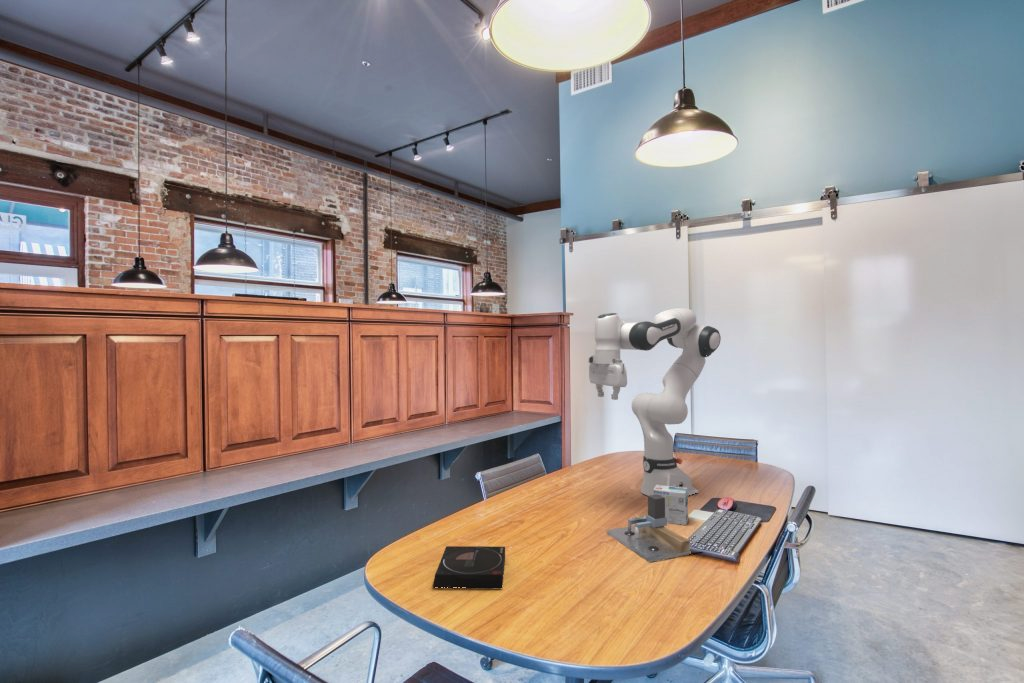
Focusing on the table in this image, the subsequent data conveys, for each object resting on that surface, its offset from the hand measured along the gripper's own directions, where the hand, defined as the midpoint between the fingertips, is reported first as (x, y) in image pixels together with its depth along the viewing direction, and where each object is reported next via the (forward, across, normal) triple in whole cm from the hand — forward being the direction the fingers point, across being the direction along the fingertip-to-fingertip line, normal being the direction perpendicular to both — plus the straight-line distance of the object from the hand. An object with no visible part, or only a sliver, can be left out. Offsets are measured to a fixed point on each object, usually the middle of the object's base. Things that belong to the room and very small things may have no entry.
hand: (607, 398), depth 174 cm
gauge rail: (+39, -27, +1) cm, 48 cm away
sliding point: (+39, -25, +1) cm, 47 cm away
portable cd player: (+41, -27, +57) cm, 75 cm away
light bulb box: (+40, -14, -16) cm, 46 cm away
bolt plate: (+40, -27, +1) cm, 49 cm away
